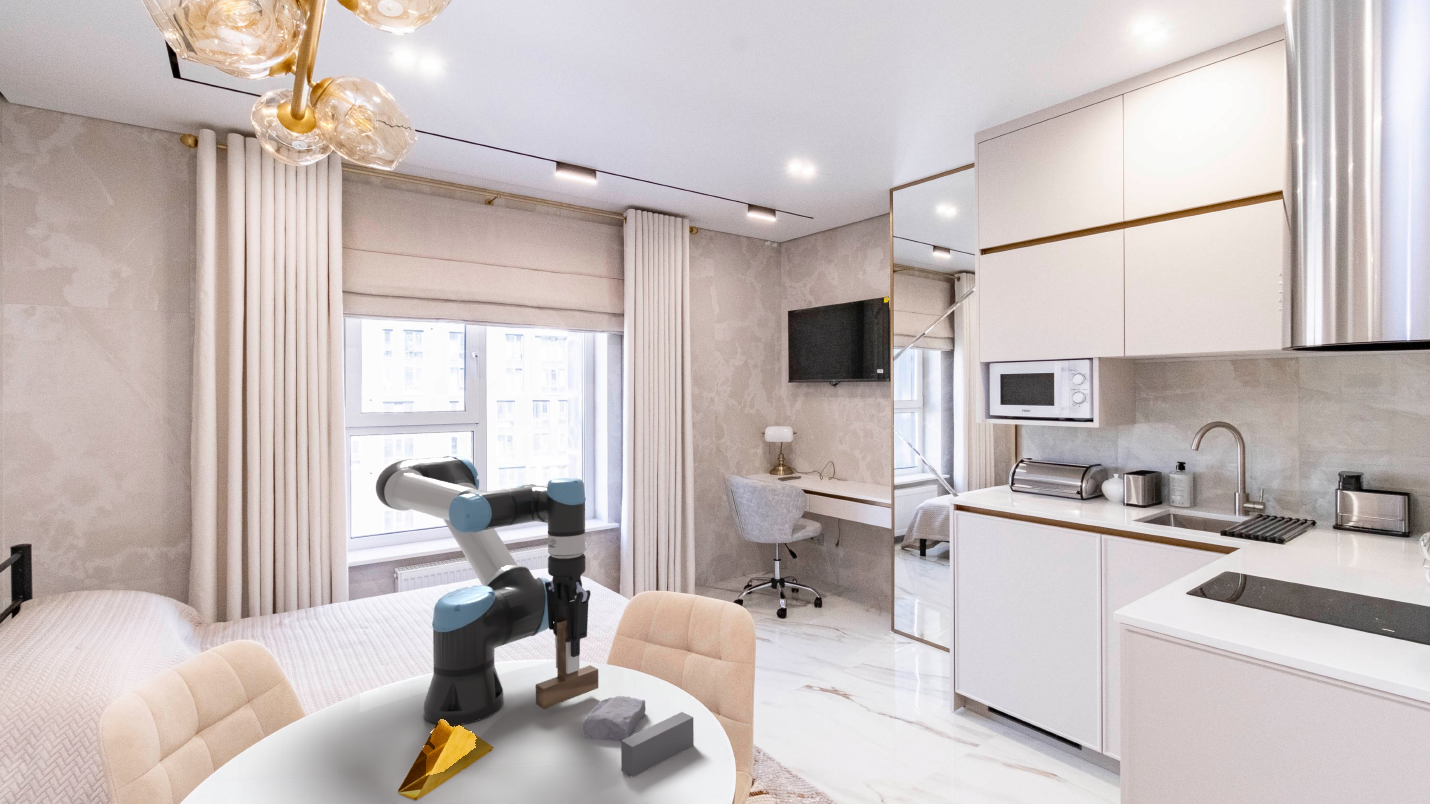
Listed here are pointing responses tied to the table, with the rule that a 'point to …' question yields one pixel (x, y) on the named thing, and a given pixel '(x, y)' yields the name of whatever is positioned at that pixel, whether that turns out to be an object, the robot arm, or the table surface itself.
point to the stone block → (614, 718)
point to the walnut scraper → (565, 677)
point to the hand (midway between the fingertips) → (567, 668)
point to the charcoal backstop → (656, 744)
